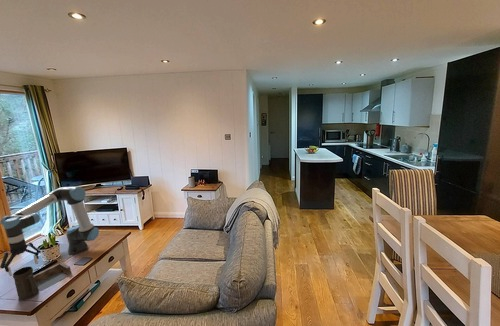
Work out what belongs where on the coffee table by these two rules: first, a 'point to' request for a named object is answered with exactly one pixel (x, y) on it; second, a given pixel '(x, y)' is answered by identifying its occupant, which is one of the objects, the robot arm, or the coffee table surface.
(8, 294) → the coffee table surface
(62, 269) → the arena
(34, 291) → the beer stein
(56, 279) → the pad
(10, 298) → the coffee table surface
